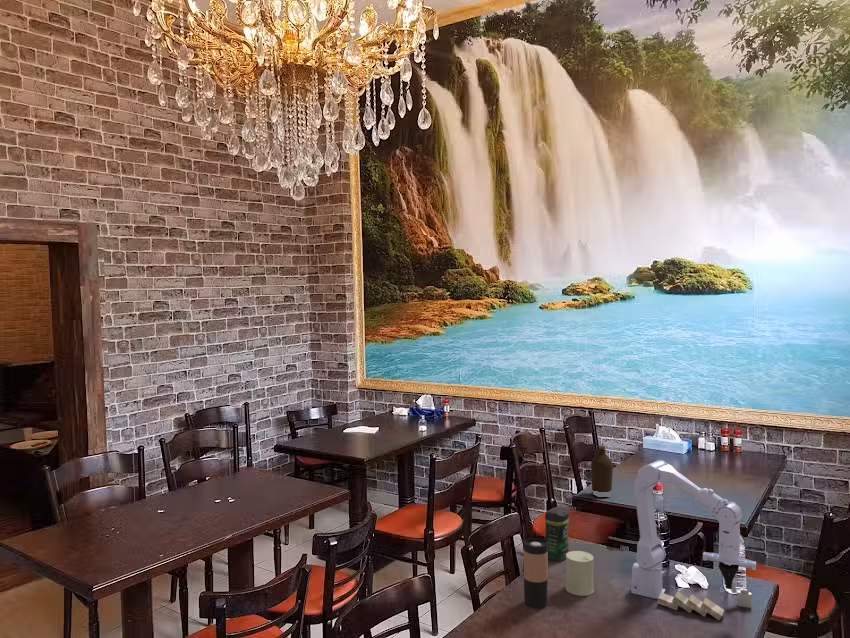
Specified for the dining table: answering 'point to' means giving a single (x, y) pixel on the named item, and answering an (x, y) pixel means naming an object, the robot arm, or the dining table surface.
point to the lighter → (742, 597)
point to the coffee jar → (557, 533)
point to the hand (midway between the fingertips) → (728, 587)
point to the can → (579, 573)
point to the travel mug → (535, 573)
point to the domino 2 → (682, 601)
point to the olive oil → (601, 471)
